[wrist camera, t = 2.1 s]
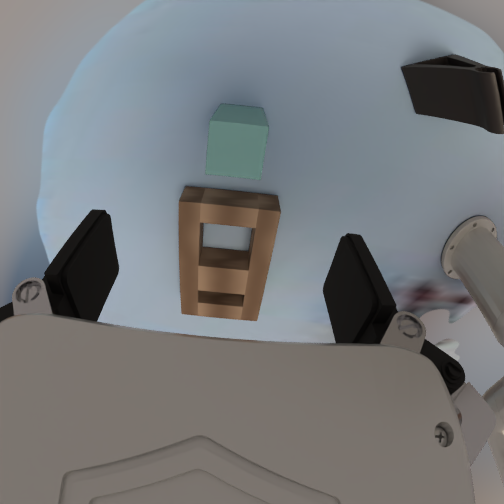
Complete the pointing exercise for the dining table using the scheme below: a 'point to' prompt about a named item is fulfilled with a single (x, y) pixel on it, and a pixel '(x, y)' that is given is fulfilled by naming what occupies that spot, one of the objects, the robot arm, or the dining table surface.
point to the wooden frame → (225, 252)
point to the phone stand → (458, 91)
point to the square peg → (237, 142)
